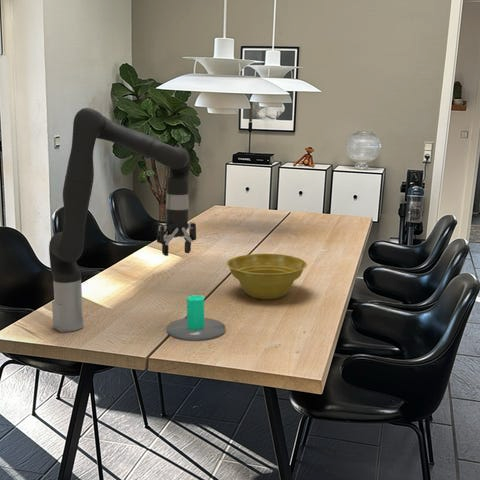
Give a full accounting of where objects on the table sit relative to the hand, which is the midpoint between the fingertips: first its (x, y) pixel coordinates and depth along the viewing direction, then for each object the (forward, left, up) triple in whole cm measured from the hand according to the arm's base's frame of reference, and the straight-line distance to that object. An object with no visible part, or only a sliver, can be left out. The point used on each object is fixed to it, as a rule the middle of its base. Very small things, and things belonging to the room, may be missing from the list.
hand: (176, 254), depth 229 cm
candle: (+3, -7, -25) cm, 26 cm away
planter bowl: (+50, +9, -26) cm, 57 cm away
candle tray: (+3, -8, -26) cm, 27 cm away
